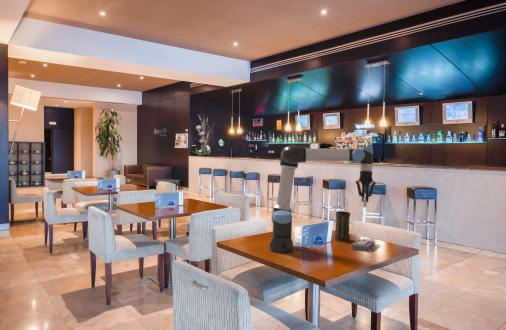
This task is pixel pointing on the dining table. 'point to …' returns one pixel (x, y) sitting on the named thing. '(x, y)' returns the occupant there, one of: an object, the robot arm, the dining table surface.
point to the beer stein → (342, 226)
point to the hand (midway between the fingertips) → (364, 207)
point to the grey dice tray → (363, 248)
